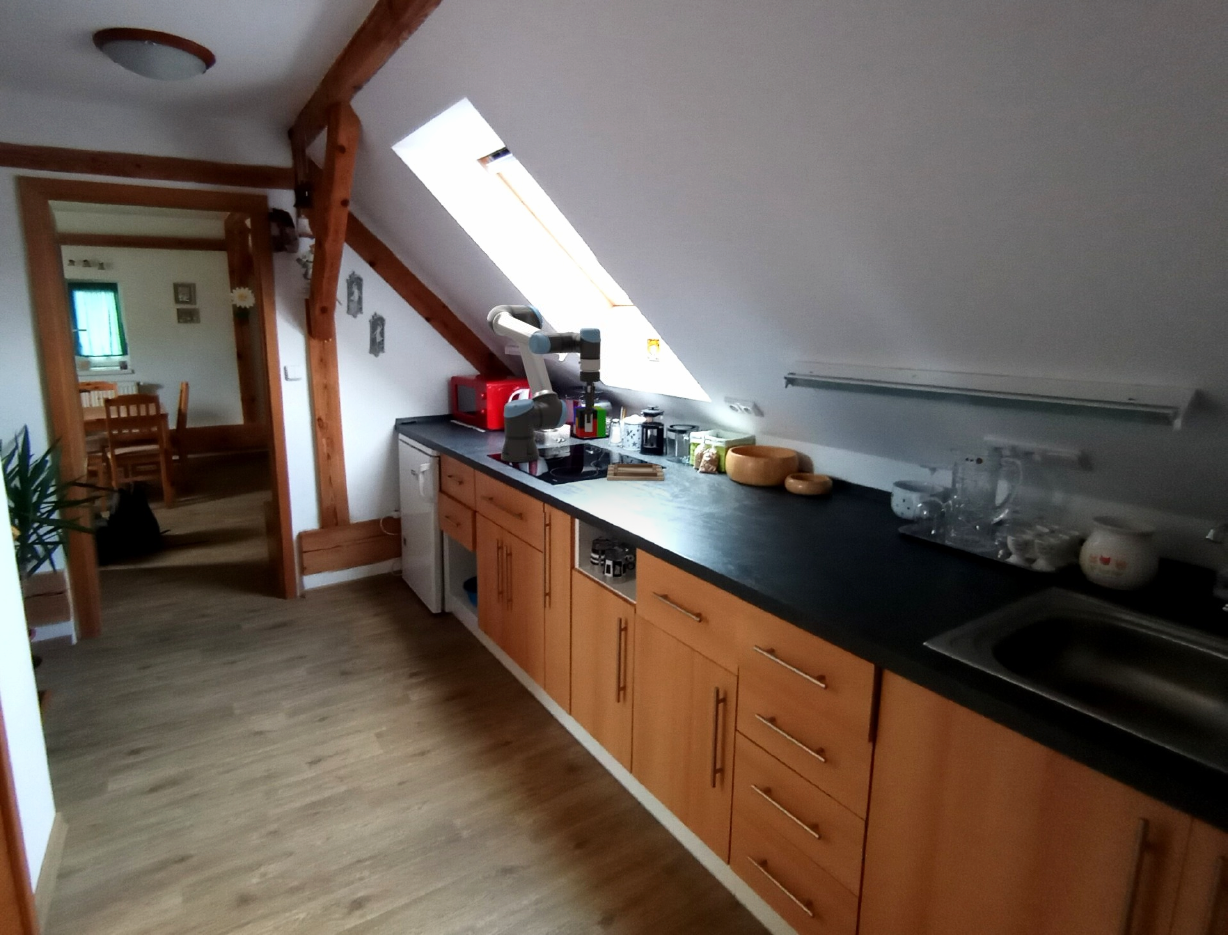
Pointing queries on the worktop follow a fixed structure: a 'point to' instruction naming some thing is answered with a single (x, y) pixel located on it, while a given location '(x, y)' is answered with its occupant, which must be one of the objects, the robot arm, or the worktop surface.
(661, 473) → the locating board
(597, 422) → the puzzle toy
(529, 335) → the robot arm
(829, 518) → the worktop surface
